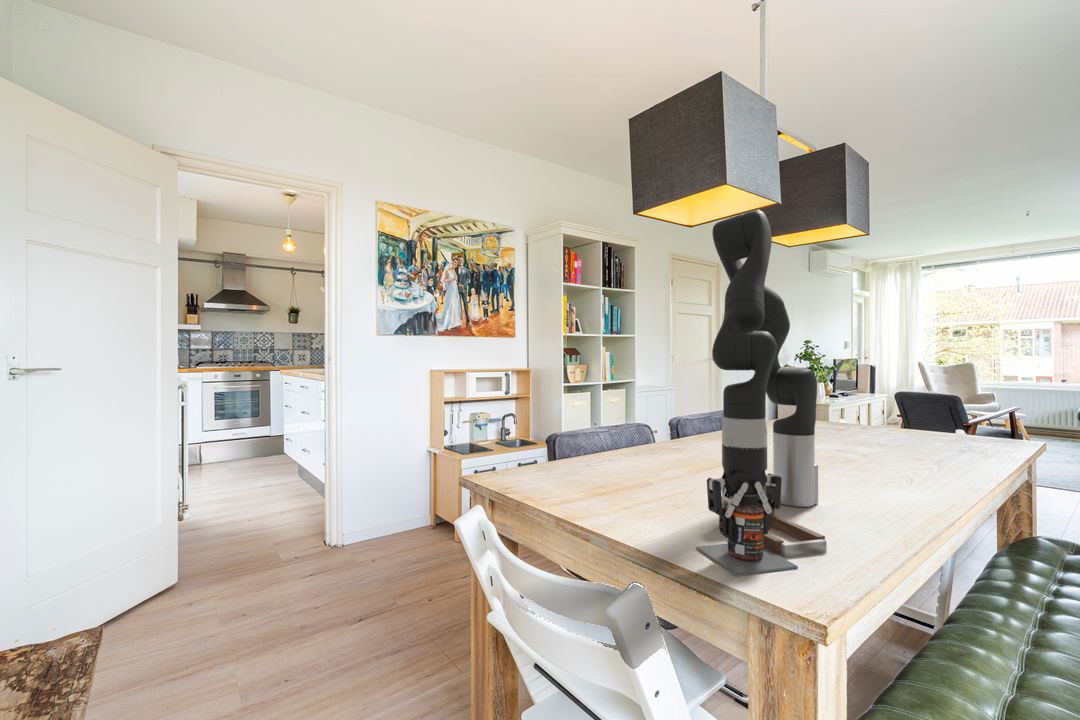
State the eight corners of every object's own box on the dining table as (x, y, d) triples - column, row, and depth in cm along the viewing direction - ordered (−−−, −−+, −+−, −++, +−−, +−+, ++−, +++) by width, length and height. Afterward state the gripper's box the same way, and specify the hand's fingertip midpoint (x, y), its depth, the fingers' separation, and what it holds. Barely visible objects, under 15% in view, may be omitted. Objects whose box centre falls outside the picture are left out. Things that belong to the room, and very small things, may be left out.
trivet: (751, 542, 95) (751, 540, 95) (797, 568, 84) (797, 566, 84) (696, 548, 92) (696, 546, 92) (736, 575, 81) (736, 573, 81)
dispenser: (763, 520, 109) (763, 475, 109) (830, 551, 91) (830, 497, 91) (720, 524, 106) (720, 478, 106) (781, 557, 88) (780, 501, 88)
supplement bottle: (746, 564, 84) (745, 498, 84) (720, 552, 90) (720, 490, 90) (771, 558, 87) (771, 494, 87) (745, 547, 92) (744, 486, 92)
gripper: (764, 437, 93) (764, 524, 93) (696, 440, 90) (697, 531, 90) (793, 444, 86) (794, 538, 86) (721, 448, 83) (721, 546, 83)
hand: (744, 534), depth 88 cm, fingers open, 6 cm apart
